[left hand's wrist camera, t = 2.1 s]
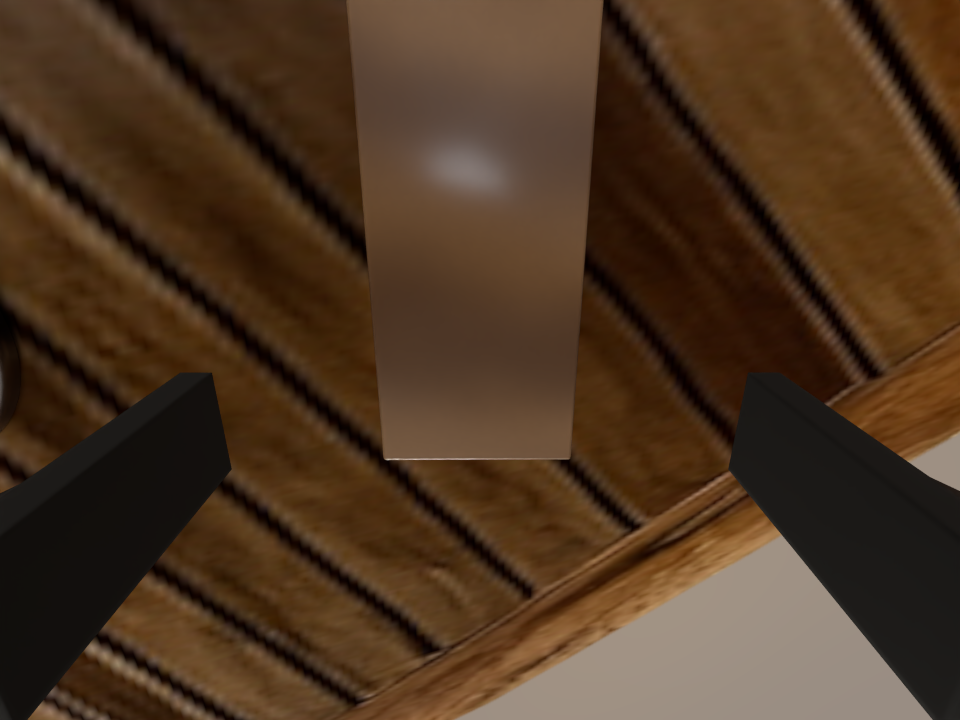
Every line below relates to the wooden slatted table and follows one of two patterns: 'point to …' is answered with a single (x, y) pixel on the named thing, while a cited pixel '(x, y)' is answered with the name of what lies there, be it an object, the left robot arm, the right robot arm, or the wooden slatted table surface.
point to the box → (475, 217)
